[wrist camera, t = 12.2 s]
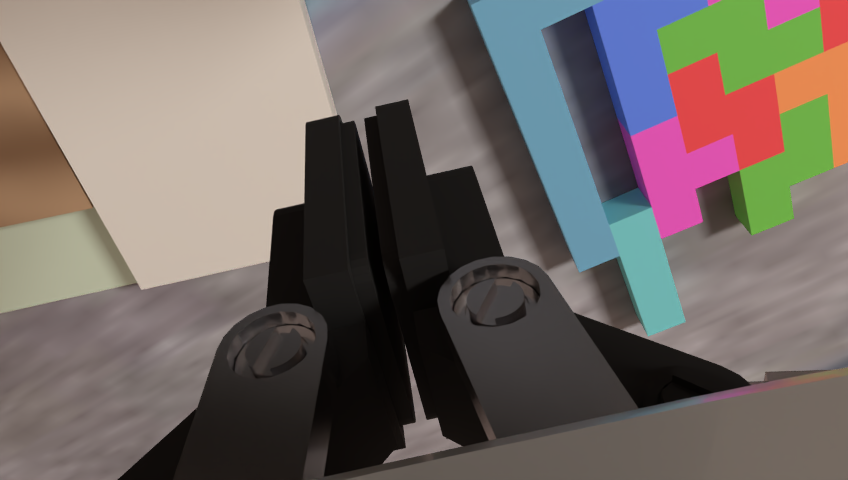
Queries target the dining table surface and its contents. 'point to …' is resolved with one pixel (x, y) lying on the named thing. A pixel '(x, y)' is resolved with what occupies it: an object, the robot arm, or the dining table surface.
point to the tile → (31, 158)
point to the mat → (58, 260)
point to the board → (176, 119)
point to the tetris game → (678, 118)
